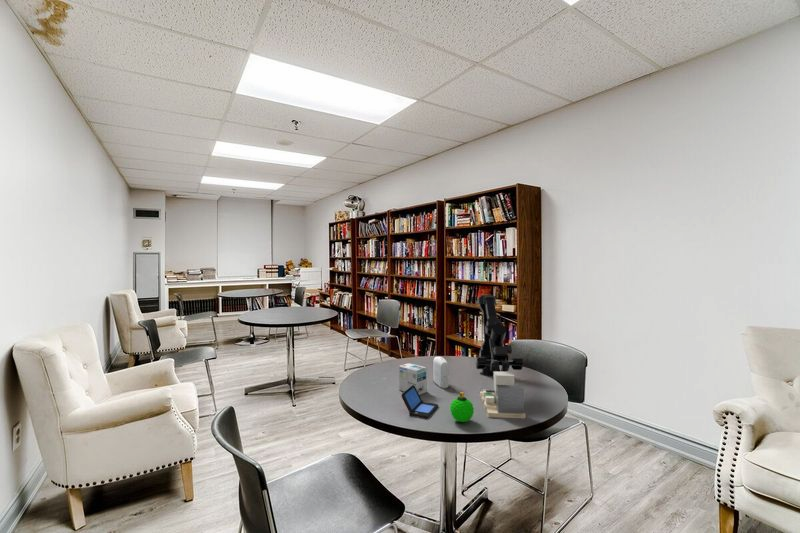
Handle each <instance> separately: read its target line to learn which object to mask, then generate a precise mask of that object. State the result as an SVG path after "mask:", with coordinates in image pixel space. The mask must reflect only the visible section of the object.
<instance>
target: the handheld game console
mask: <svg viewBox="0 0 800 533" xmlns="http://www.w3.org/2000/svg"><path fill="white" fill-rule="evenodd" d="M401 398H402V401H403V402H404V405H405V407H406V409H407V410H408V412H409V413H408V415H409V416H410V417H415V418H421V419H425V420H426V419H427V420H428V419H429V418H431V417H432V415H433V414H434V412H436V410H437V409H438V408H439V404H438V403H432V402H427V401H426V402H425V401H424V399H422V398H421V396H420V395H419V393H418V391H417V390H416V388H415V386H414V385H412V386H411V387H410V388H409V389H407V390H406V391H405V392H404V391H403V392H402V393H401Z"/></svg>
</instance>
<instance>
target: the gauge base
mask: <svg viewBox="0 0 800 533" xmlns="http://www.w3.org/2000/svg"><path fill="white" fill-rule="evenodd" d="M486 390H487V389H482V390H481V391H479V395H480V398H481V401H482V402H481V403H482V404H483V407H484V410H485V412H486V416H487V417H488V418H503V419H505V418H506V419H526V418H527V417H526V412H525V411H524V413H498V412H497V409H496V401H495V398H494V393H486ZM488 390H489V391H492V390H491V389H488Z"/></svg>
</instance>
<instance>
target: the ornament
mask: <svg viewBox="0 0 800 533" xmlns="http://www.w3.org/2000/svg"><path fill="white" fill-rule="evenodd" d="M449 407H450V408H449V409H450V410H449V411H450V414H451V415H450V416H452V418H453V419H454V420H455V421H457V422H459V423H465V422H468V421H470V420H471V419H472V417H473V416H474V413H475V408H474V404H473V403H472V401H471V400H469V399H468V398H467V397H465V392H463V391H460V392H459V396H457V397H456V398H455V399H453V400H452V402H451V403H450V406H449Z"/></svg>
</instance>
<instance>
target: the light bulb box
mask: <svg viewBox="0 0 800 533" xmlns="http://www.w3.org/2000/svg"><path fill="white" fill-rule="evenodd" d="M427 372H428V371H427V367H426V366H423V365H418V364H413V363H410V362H409V363H405V364H401V365H398V373H399V374H398V379H399V380H398V381H399V382H398V383H399V384H398V385H399V386H398V388H399V389H398V391H401V392H403V393H404V392H405V391H406V390H407V389H409V388H410V387H411V386H412V385H414V386H415V388H416V390H417V391H418V393H419V395H423V394H425V393H427V392H428V376H427V375H428V373H427Z"/></svg>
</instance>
